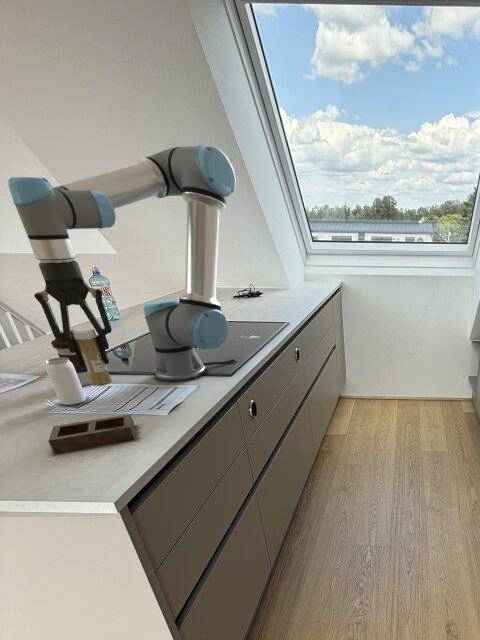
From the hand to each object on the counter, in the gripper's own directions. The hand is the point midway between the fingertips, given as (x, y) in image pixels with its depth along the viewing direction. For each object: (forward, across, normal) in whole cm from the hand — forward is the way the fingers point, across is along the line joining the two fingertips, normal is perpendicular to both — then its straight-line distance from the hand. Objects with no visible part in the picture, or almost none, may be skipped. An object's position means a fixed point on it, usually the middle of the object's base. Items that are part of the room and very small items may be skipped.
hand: (95, 363), depth 114 cm
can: (+15, +11, -18) cm, 26 cm away
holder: (+14, +4, +14) cm, 20 cm away
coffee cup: (+15, +9, -36) cm, 40 cm away
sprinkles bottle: (+5, 0, 0) cm, 5 cm away
